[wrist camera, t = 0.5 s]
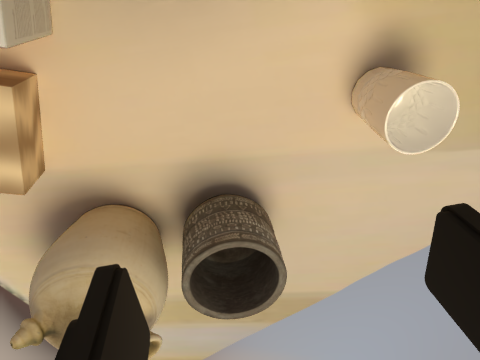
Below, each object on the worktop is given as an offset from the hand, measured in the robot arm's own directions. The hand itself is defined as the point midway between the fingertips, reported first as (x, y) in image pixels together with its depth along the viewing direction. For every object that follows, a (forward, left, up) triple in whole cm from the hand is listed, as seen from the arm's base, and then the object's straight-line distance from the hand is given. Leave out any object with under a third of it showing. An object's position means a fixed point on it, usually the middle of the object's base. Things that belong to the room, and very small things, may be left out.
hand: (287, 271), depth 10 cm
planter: (+21, +5, -34) cm, 40 cm away
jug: (+26, -10, -34) cm, 44 cm away
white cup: (0, +21, -34) cm, 39 cm away
